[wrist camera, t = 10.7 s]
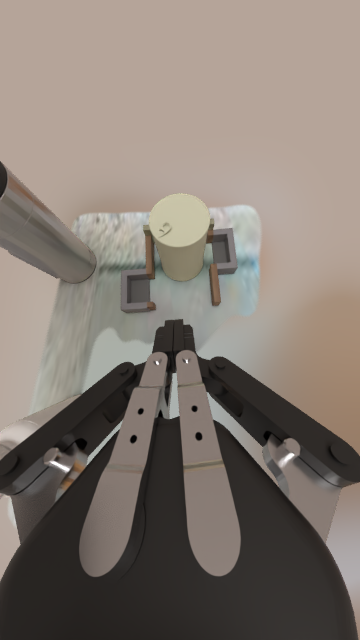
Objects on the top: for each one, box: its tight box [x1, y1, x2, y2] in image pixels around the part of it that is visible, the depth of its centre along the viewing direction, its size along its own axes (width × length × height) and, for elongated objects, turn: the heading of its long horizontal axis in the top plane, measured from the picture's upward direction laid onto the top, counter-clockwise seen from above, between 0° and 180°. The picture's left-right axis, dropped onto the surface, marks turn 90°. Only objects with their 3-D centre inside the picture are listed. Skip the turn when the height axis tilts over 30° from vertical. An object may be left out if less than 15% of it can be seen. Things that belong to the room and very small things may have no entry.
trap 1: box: [212, 228, 238, 275], centre depth 32 cm, size 4×9×2 cm, turn 3°
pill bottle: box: [0, 395, 80, 498], centre depth 22 cm, size 8×8×15 cm
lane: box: [143, 219, 221, 310], centre depth 31 cm, size 14×17×4 cm
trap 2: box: [121, 269, 150, 313], centre depth 32 cm, size 5×8×2 cm, turn 3°
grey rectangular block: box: [149, 193, 210, 281], centre depth 28 cm, size 9×9×12 cm
